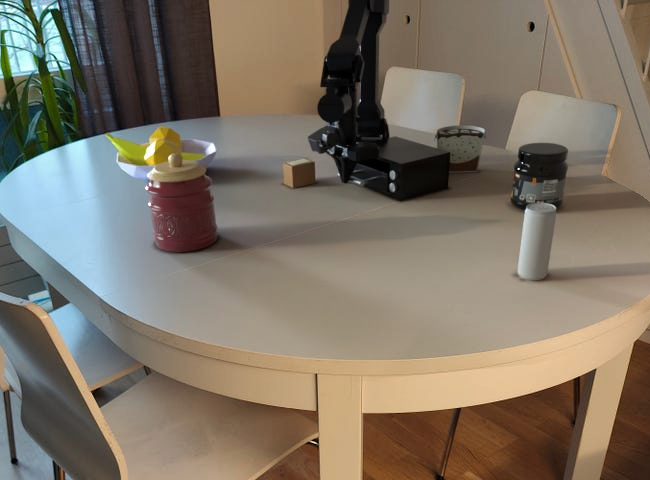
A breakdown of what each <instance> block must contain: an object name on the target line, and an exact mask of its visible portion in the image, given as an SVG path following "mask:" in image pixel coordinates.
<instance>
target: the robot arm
mask: <svg viewBox="0 0 650 480" xmlns="http://www.w3.org/2000/svg"><path fill="white" fill-rule="evenodd" d="M347 5H348V7H347V10H346V14H345V17H344V21H343V24H342V28H341V32H340V34H339V37H338V39H336V40H335V41H334V42H333V43H331V44H330V46H329V49H328V51H327V53H326V55H325V56H324V59H323V65H322V70H321V71H322V72H321V78H320V85H319V86H320V88H325V94H324V95H322V96H321V97H320V98H319V100H318V103H317V104H316V105H317V106H316V108H317V109H316V111H317V114H318V116H319V118H320V119H321V120H322V121H324V122H325V126H322V127H320V128H319V129H317V130H316V131H314V132H312V133H311V134H309V135H308V136H307V141H308V143H309V146H310V149H311V151H312V152H315V153H318V154H319V155H323V154H326V155H328V156H329V157H330V158H332V160H333V161H334V164H335V166H336V168H337V172H338V173H339V175H340V178H339V179H340V181H341V183H342V184H343V185H346V184H348V183H349V179H350V177H351V175H352V173H353V171H354V168H355V166H356V164H357V163H358V161H363V160H368V159H372V158H377V157H379V150H380V147H379V146H378V145H377V144H375V143H372V141H376V140H381V139H385V138H390V137H391V135H390V129H389V123H388V120H387V118H385V116H386V115H385V113H386V112H385V108H384V107H383V105H382V103H381V102H380V99H379V81H380V80H379V77H380V75H379V73H380V72H379V70H380V69H379V68H380V34H381V32H382V31H383V29H384V27H385V25H386V23H387V16H388V15H389V13H390V0H348V2H347ZM358 86H359V102H358Z"/></svg>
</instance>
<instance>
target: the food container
mask: <svg viewBox="0 0 650 480" xmlns="http://www.w3.org/2000/svg"><path fill="white" fill-rule="evenodd" d="M484 139H487V133H486V129H485V128H483V127H480V126H475V125H467V124H466V125H465V124H464V125H458V124H457V125H449V126H443V127H440V128H438V129H437V130H436V132H435V134H434V138H433V141H435V142H436V148H438V149H441V150H445V151H448V152H450V168H449V174H452V173H453V174H454V173H458V174H459V173H478V170H479V165H480V161H481V160H480V159H481V154H482V149H483V145H484Z"/></svg>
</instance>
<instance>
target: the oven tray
mask: <svg viewBox="0 0 650 480" xmlns="http://www.w3.org/2000/svg"><path fill="white" fill-rule="evenodd" d="M337 177H338V178H339V179H341V178H340V175H339V172H338V173H337ZM348 183H351V184H354V185H356V186H359V187H363V186H364V185H365V183H366V184H369V185H371V186H374V187H377V188H379V189H382V190H384V191H387V192H388V191H389V185H390V163H386V164H382V165H378V166H373V167H368V166H365V165H362V164H360V163H357V164H356V166H355V168H354V171H353V173H352V175H351V177H350V179H349V181H348ZM363 188H364V187H363Z"/></svg>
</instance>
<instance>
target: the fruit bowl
mask: <svg viewBox="0 0 650 480" xmlns="http://www.w3.org/2000/svg"><path fill="white" fill-rule="evenodd" d="M105 137H106V138H108V140H110V142H111V144H112V145H113V146H114V147H115V148H116V149H117V150H118V151H119V152H117V153H116V163H117V164H118V166H119V167H120V168H121V170H123V171H124V172H126V173H127V174H128V175H130V176H131V177H132V178H137V179H142V180H148V181H151V179H149V178H148V173H149V172H150V171H151V170H153V169H154V167H155V166H157V165H158V164H161V163H164V162H168V161H169V157H170V155H171V154H174V153H177V154H179V155H180V156H181V157H182V160H192V161H195V162H197V163H198V164H200V165H202V166H204V167H205V168H206V169H207V168H208V167H210V165H211V163H212V162H213V161H214V158H215V157H216V155H217V153H218V149H217V146H216V144H215V143H214V142H210V141H205V140H199V139H196V138H195V139H194V138H192V139H191V138H189V139H182V138H181V135H180V133H178V132H176V131H175V130H174V129H172V128H170V127H168V126H164V125H163V126H162V125H159V127H158V128H157V129H156V130H155V131H154V132H153V133H152V134H151V135H150V136H149V137H148V139H149V142H147V143H141V144H139V143H135V142H132V141H129V140H127V139H123V138H119V137H116V136H113V135H111V134H110V133H109V132H106V133H105Z"/></svg>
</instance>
